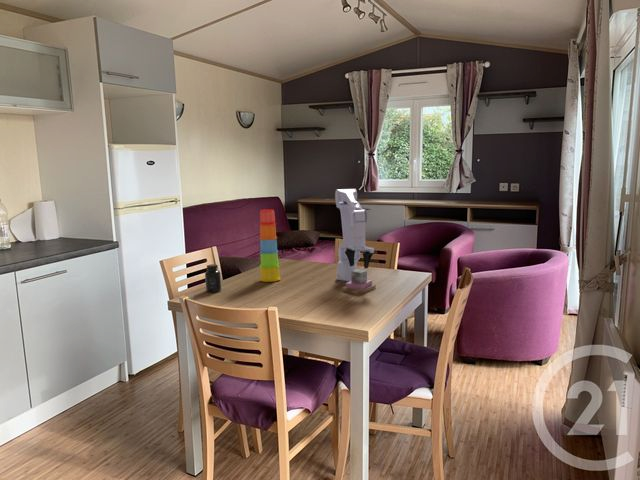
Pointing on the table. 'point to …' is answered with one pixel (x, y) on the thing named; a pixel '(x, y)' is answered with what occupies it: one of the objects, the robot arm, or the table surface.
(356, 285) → the plum top block
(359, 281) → the slate cube
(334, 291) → the table surface
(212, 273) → the supplement bottle
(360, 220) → the robot arm
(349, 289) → the walnut base block
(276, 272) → the stacking cups
